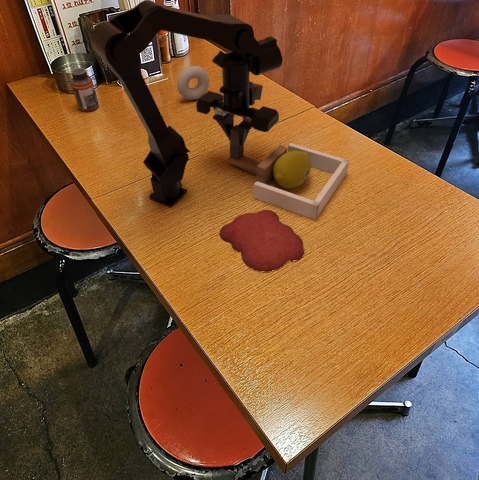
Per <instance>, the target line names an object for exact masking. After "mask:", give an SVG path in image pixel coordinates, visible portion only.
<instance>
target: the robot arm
mask: <svg viewBox="0 0 479 480" xmlns="http://www.w3.org/2000/svg"><path fill="white" fill-rule="evenodd" d="M92 30H93V31H92V32H91V36H90V38H89V39H90V44H91V47H92V49H93V50H94V51H95V53H96V54H97V55H98V57H100V59H101V60H102V62H103V63H105V65H106V66H107V67H108V68H109V70H110V71H111V72H112V73H113V74H114V75H115V76H116V77H117V79H118V81H119V83H120V85H121V86H122V88H123V90H124V91H125V94H126V96H127V97H128V99H129V101H130V103H131V104H132V106H133V108H134V111H135V112H136V114H137V116H138V118H139V119H140V122H141V123H142V125H143V128H144V130H146V132H147V135H148V136H147V137H148V140H147V141H148V146H149V149H150V151H149V152H148V154H147V155H146V157H145V158H144V160H143V163H142V164H143V165H144V166H145V167H146V169H147V170H149V171H150V172H151V177H150V184H151V189H152V193H151V194H150V195H148V198H149V199H150V200H152V201H154V202H157V203H159V204H161V205H165V206H168V207H169V208H172V207H173V206H174V205H175V204H176V203H177V202H178V201H180V200H181V198H183V196H184V195H185V194H186V193H188V190H187V189H186V188H184V187H182V180H183V178H184V175H185V170H186V166H187V163H188V162H189V160H190V159H189V157H190V156H189V154H188V153H190V152H191V151H190V150H189V149H188V148H187V145H186V143H185V140H184V137H183V136H182V135H181V134H180V133H179V132H178V131H176V130H175V128H173V127H172V126H171V125H168V126H167V123H166V122H165V119H164V117H163V115H162V114H161V112H160V109H159V107H158V105H157V103H156V101H155V99H154V96H153V94H152V92H151V90H150V89H149V87H148V85H147V82H146V80H145V79H144V76H143V74H142V60H141V57H140V54H141V53H143V52H144V51H145V50H146V49H147V48H148V47H149V45H150V44H151V43H152V41H153V39H154V37H155V36H156V35H157V34H158V33H160V32H161V31H163V32H168V33H172V34H177V35H182V36H187V37H190V38H191V37H192V38H196V39H201V40H206V41H210V42H212V43H215V44H217V45H218V46H220V47H223V48H225V49H226V50H229V51H228V52H224V51H222V50H219V51H218V53H217V54H216V55H215V56H214V57H213V59H212V61H211V62H212V63H213V64H215V65H216V66H218V67H220V69H221V70H222V73H221V74H222V85H221V86H220V87H219V93H218V92H214V91H211V90H207V91H206V93H205V94H204V95H203V96H202V97H200V98H198V99H196V103H195V109H196V112H198V113H201V114H204V115H208V114H209V113H210V112H211V108H213V109H212V110H213V111H214V114H213V116H212V119H213V120H215V121H216V122H217V124H218V125H219V127H220V128H221V129H222V131H223V132H224V134H225V136H226V137H227V138H228V140H229V141H230V129H231V128H233V127H234V126H235V124H234V123H235V118H234V117H235V116H238V117H240V118H242V121H240V123H238V124H237V125H238V131H239V139H240V144H241V145H243V144H244V145H245V142H247V138H248V135H249V132H250V131H251V129H252V128H253V130H257V131H260V132H263V133H268V132H270V130H271V129H272V128H273V127H274V126H275V125H276V124H277V123H278V122H279V119H280V113H279V111H278V110H277V109H276V108H275V109H274V108H272V107H267V106H264V105H262V106H261V107H260V108H255V107H250V106H254V105H255V103H256V101H257V100H258V101H261V98H262V93H263V88H264V87H263V85H262V84H258V83H254V82H252V81H250V73H251V74H252V75H253V76H260V75H263V74H266V73H270V72H273V71H275V70H277V69H280V68H281V66H282V64H283V56H282V52H281V48H280V47H279V45H278V40H277V38H275V37H273V36H272V35H270V36H267V37H265V38H264V39H260V40H257V38H255V32H254V27H253V26H252V25H251V24H249V23H248V22H245V21H243V20H241V19H239V18H238V17H235V16H234V15H231V14H215V15H205V14H204V15H203V14H201V13H196V12H192V11H188V10H184V9H180V8H177V7H173V6H169V5H164V4H162V3H161V4H160V3H157V2H154V1H153V0H143V1H141V2H139V3H138V4H136V5H135V6H134V7H133V8H131V9H128V10H125V11H123V12H120V13H118V14H117V15H114V16H113V17H112V18H111V19H109V20H107V22H105V21H104V22H102V23H99V24H97V25H96V26H95V27H94V29H92Z"/></svg>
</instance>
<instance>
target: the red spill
mask: <svg viewBox="0 0 479 480" xmlns="http://www.w3.org/2000/svg"><path fill="white" fill-rule="evenodd" d="M219 237H220V239H221V240H222V241H224V242H226V243H228V242H229V244H231V247H232V249H233V250H234V251H235V250H236V252H238V253H240V252H241V253H240V254H241V258H242V259H241V260H242V262H243V263H244V262H245V263H244V264H245V266H246V267H248V266H249V267H250V268H249V267H248V268H249V269H251V268H253V269H254V270H253V271H255V270H258V271H272V270H276V269H278V268H280V267H281V268H283V267H284V266H285V265H286V264H287V263H288V262H287V261H289V260H290V261H293V260H297V259H300V258H301V257H302V256H303V254H304V255H305V250H304V249H305V248H304V242H303V239H302V238H301V236H300V235H298V234H297V233H296V232H295V231H294V229H293V227H291V226H290V225H288V224H284V223H282V222H281V221H280V217H279V215H278V213H277V212H275V211H274V210H270V209H262V210H259V211H257V212H247V213H242V214H240V215H238V216H235V218H234V219H233V220H231V222H229V223H226V224H224V225H222V227H221V228H220V230H219ZM303 257H304V256H303ZM303 257H302V258H303ZM302 258H301V259H302ZM301 259H300V260H301ZM286 262H287V263H286ZM285 263H286V264H285ZM284 264H285V265H284ZM283 265H284V266H283ZM282 266H283V267H282ZM281 268H280V269H281ZM278 270H279V269H278ZM258 271H257V272H258ZM276 271H277V270H276Z"/></svg>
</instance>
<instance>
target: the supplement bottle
mask: <svg viewBox="0 0 479 480" xmlns="http://www.w3.org/2000/svg"><path fill="white" fill-rule="evenodd" d="M71 75H72V78H71V79H70V84H71V88H72V91H73V94H74V98H75V100H76V104H77V107H78V109H79V111H81V112H84V113H89V112H93V111H95V110H97V109H98V108H99V106H100V103H99V99H98V95H97V92H96V89H95V84H94V82H93V78H92V77H91V76H90V75H89V74H88V72H87V70H86V68H83V67H77V68H74V69H72V70H71Z"/></svg>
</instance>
